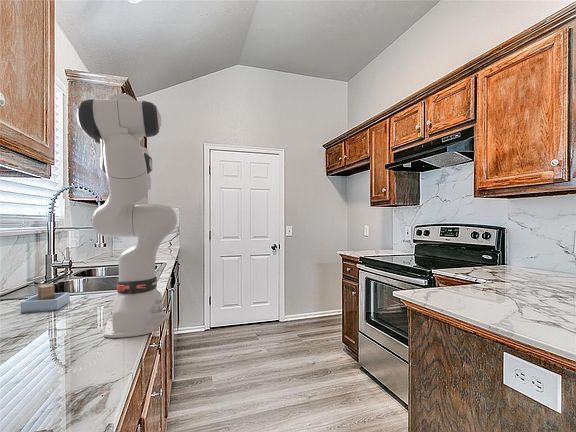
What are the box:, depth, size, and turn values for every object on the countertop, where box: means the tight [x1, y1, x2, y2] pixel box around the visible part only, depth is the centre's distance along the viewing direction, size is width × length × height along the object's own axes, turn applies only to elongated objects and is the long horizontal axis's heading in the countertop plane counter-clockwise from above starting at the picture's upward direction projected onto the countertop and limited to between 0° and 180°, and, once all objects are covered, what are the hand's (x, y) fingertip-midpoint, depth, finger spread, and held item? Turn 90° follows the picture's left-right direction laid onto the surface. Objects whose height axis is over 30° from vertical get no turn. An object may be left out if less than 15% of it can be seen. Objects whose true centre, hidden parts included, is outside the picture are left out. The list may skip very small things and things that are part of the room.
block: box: [37, 283, 56, 300], centre depth 127 cm, size 4×4×8 cm
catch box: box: [20, 292, 71, 314], centre depth 127 cm, size 12×12×4 cm
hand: (140, 217), depth 142 cm, fingers open, 8 cm apart
